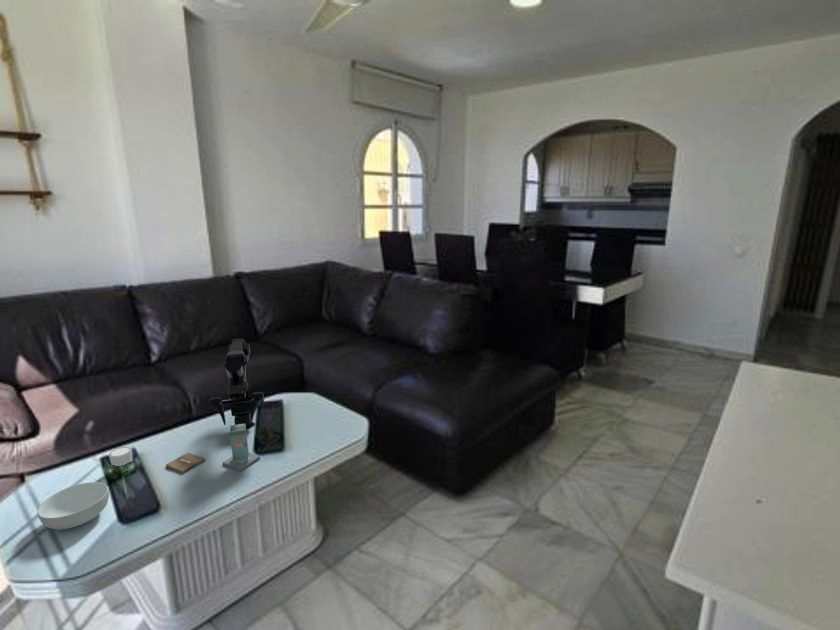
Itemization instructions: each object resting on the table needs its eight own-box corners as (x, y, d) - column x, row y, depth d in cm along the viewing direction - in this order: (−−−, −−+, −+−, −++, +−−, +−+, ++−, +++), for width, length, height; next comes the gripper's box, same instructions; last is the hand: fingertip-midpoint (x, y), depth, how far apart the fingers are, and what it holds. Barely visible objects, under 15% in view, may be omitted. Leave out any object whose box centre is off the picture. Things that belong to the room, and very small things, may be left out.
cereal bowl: (101, 494, 149) (97, 475, 147) (120, 516, 139) (116, 495, 137) (35, 521, 136) (30, 501, 134) (51, 548, 126) (45, 526, 124)
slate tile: (242, 452, 173) (241, 449, 172) (259, 458, 169) (259, 455, 168) (222, 464, 165) (222, 461, 164) (240, 471, 161) (240, 468, 161)
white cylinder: (139, 464, 165) (136, 446, 164) (125, 475, 159) (122, 457, 157) (121, 463, 166) (118, 445, 164) (107, 474, 159) (103, 456, 158)
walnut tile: (188, 454, 171) (188, 452, 171) (205, 460, 167) (204, 457, 167) (166, 467, 163) (165, 464, 163) (183, 473, 160) (182, 470, 159)
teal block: (234, 456, 168) (230, 425, 165) (248, 454, 169) (245, 423, 166) (233, 464, 163) (229, 432, 160) (248, 461, 165) (244, 430, 162)
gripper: (206, 378, 165) (207, 419, 158) (261, 371, 171) (263, 411, 163) (211, 389, 174) (211, 429, 167) (263, 383, 180) (265, 421, 173)
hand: (238, 422), depth 167 cm, fingers open, 9 cm apart
